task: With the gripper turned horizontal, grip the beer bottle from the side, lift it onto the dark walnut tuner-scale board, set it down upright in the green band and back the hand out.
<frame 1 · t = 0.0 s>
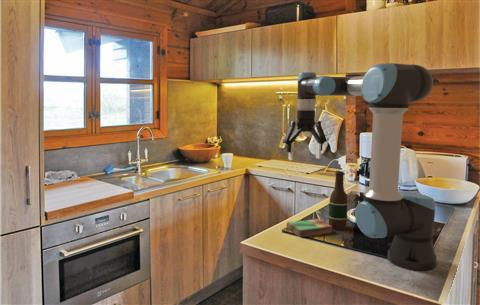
hand: (304, 159, 169), 28 cm above the cooktop, tool pointing down, fingers open, 13 cm apart
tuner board: (309, 230, 162), on the cooktop
beer bottle: (337, 227, 166), on the cooktop
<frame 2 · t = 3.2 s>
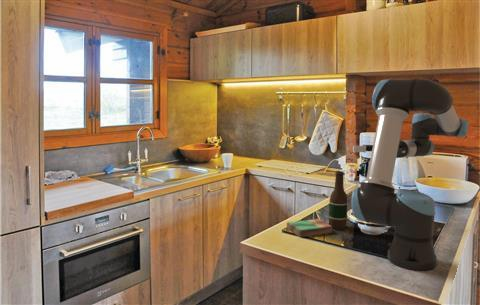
hand: (363, 151, 166), 32 cm above the cooktop, tool horizontal, fingers open, 13 cm apart
nothing on the cooktop moved.
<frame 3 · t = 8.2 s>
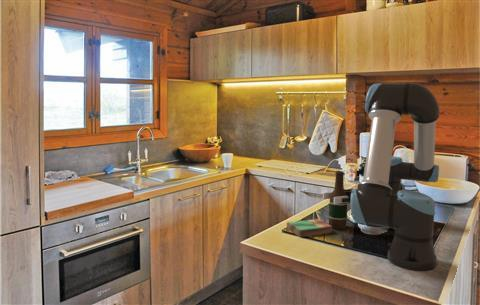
hand: (328, 198, 163), 13 cm above the cooktop, tool horizontal, fingers closed on beer bottle, 7 cm apart
beer bottle: (337, 227, 166), on the cooktop, touching gripper
when the fingers open (17 cm above the cooktop, at t = 12.8 s): beer bottle drops 2 cm, resting on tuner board.
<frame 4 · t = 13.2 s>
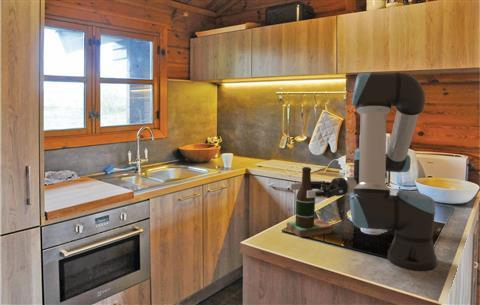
hand: (298, 190, 157), 17 cm above the cooktop, tool horizontal, fingers open, 13 cm apart
beer bottle: (304, 225, 160), point 2 cm above the cooktop, touching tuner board
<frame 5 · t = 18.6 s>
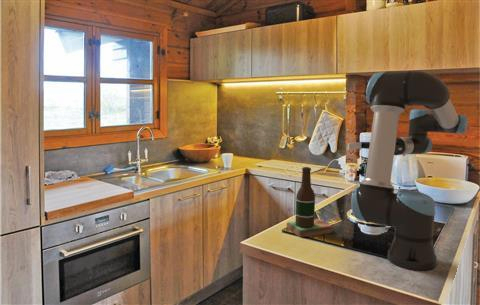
hand: (358, 148, 160), 34 cm above the cooktop, tool horizontal, fingers open, 13 cm apart
nothing on the cooktop moved.
at the end: beer bottle inside the target area on the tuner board (0.5 cm from its centre), point 2.4 cm above the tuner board's base; beer bottle tilted 0°; the gripper is holding nothing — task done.
